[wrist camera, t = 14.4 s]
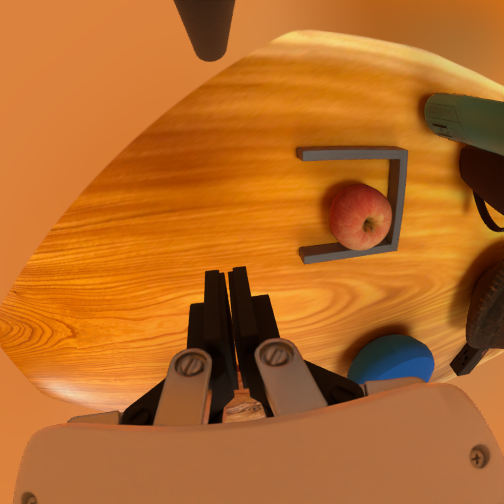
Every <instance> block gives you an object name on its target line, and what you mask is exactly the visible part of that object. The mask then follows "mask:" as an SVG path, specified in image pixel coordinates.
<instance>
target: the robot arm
mask: <svg viewBox="0 0 504 504" xmlns="http://www.w3.org/2000/svg"><path fill="white" fill-rule="evenodd" d="M228 278H229V290H230V302H231V312H230V306H229V300H228V294H227V288H226V282H225V275H224V272H223V273H219V270H211V271H205V292H204V303H195V304H191V305H190V313H189V325H188V338H187V349H185V350H182V351H180V352H179V353H177V354H176V355H175V356H174V357H173V359H172V361H171V363H170V366H169V369H168V373H167V376H166V378H165V379H164V380H163V381H161V382H160V383H159V384H158V385H156V386H155V387H154V388H152V389H151V390H150V391H149V392H147V393H146V394H145V395H143V396H142V397H141V398H140V399H138V400H137V401H136V402H134V403H133V404H132V405H130V406H129V407H128V408H127V409H126V410H125V411H124V412H121V413H120V412H119V411H118V410H117V411H111V412H105V413H99V414H91V415H83V416H77V417H73V418H71V419H70V420H69V421H68V422H67V423H64V424H57V425H53V426H49V427H46V428H43V429H41V430H39V431H37V432H36V433H35V434H34V435H33V436H32V437H31V439H30V440H29V442H28V444H27V446H26V449H25V451H24V454H23V456H22V460H21V463H20V467H19V471H18V475H17V480H16V485H15V491H14V499H13V504H504V456H503V454H502V451H501V449H500V447H499V445H498V443H497V441H496V439H495V437H494V435H493V433H492V431H491V429H490V427H489V426H488V424H487V422H486V421H485V419H484V417H483V416H482V414H481V412H480V411H479V410H478V408H477V407H476V405H475V404H474V403H473V401H472V400H471V399H470V398H469V396H468V395H467V394H466V393H465V392H464V391H462V390H461V389H460V388H458V387H457V386H454V385H451V384H446V383H426V382H425V381H424V380H423V379H421V378H419V377H403V378H395V379H385V380H375V381H365V384H357V383H356V382H354V381H352V380H350V379H347V378H345V377H343V376H340V375H338V374H335V373H333V372H331V371H328V370H326V369H324V368H322V367H319V366H317V365H315V364H312V363H310V362H308V361H306V360H304V359H303V358H302V356H301V354H300V352H299V351H298V349H297V347H296V346H295V345H294V343H292V342H291V341H289V340H286V339H283V338H280V335H279V332H278V328H277V324H276V320H275V317H274V313H273V309H272V306H271V302H270V298H269V295H268V294H267V295H259V296H252V297H251V293H250V287H249V282H248V276H247V271H246V266H243V267H235V268H233V271H231V272H228ZM231 313H232V318H231ZM234 341H235V344H234ZM235 347H236V352H237V358H238V363H239V368H240V373H241V379H242V384H243V389H248V388H249V393H250V397H251V398H253V399H254V400H256V401H258V402H260V404H261V408H262V411H263V414H264V416H265V418H264V419H257V420H249V421H240V422H231V423H225V421H226V405H227V404H228V403H229V402H230V401H231V400H232V399H233V398H235V395H234V390H239V382H238V373H237V363H236V354H235Z"/></svg>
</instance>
